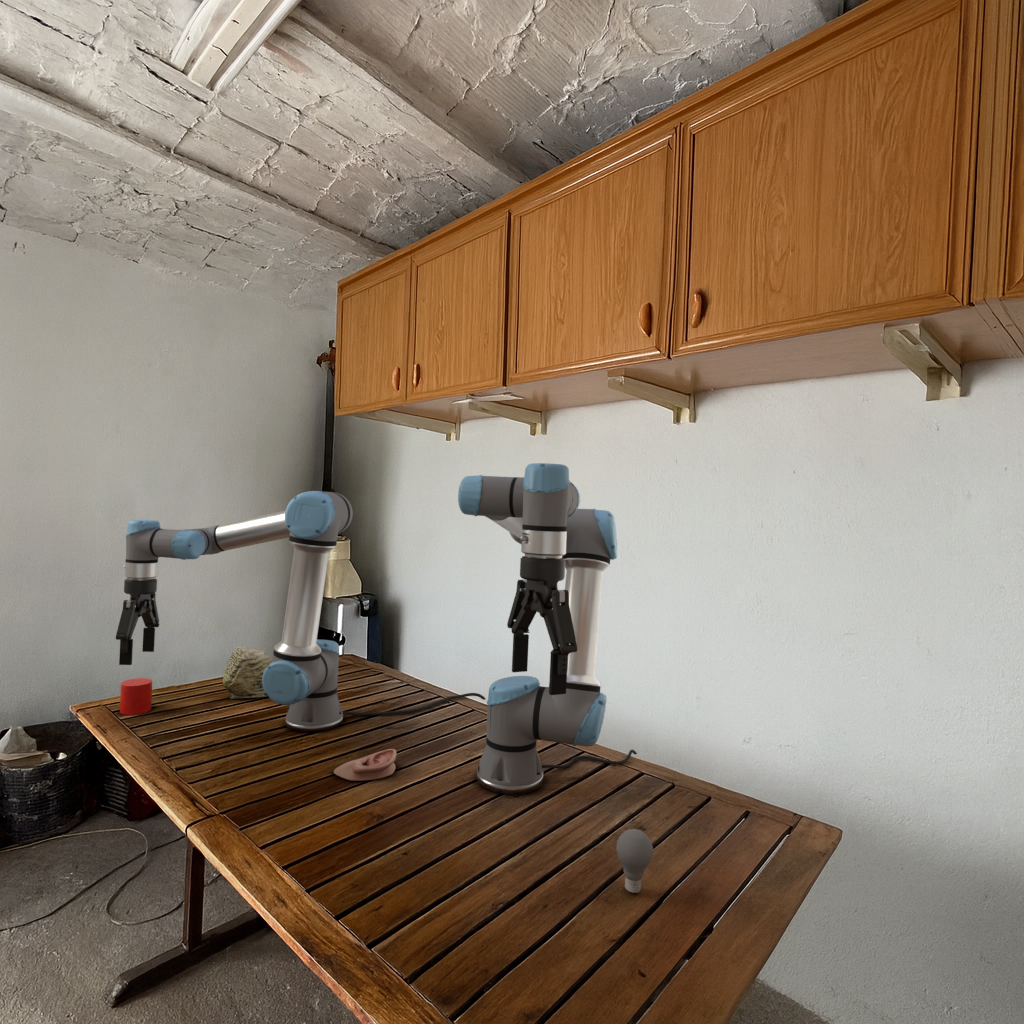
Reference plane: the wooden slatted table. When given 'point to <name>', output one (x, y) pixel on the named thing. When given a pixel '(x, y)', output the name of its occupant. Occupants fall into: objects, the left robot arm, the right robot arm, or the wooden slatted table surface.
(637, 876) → the light bulb
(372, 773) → the anatomical model
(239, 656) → the fossil
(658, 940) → the wooden slatted table surface
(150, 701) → the cylinder
